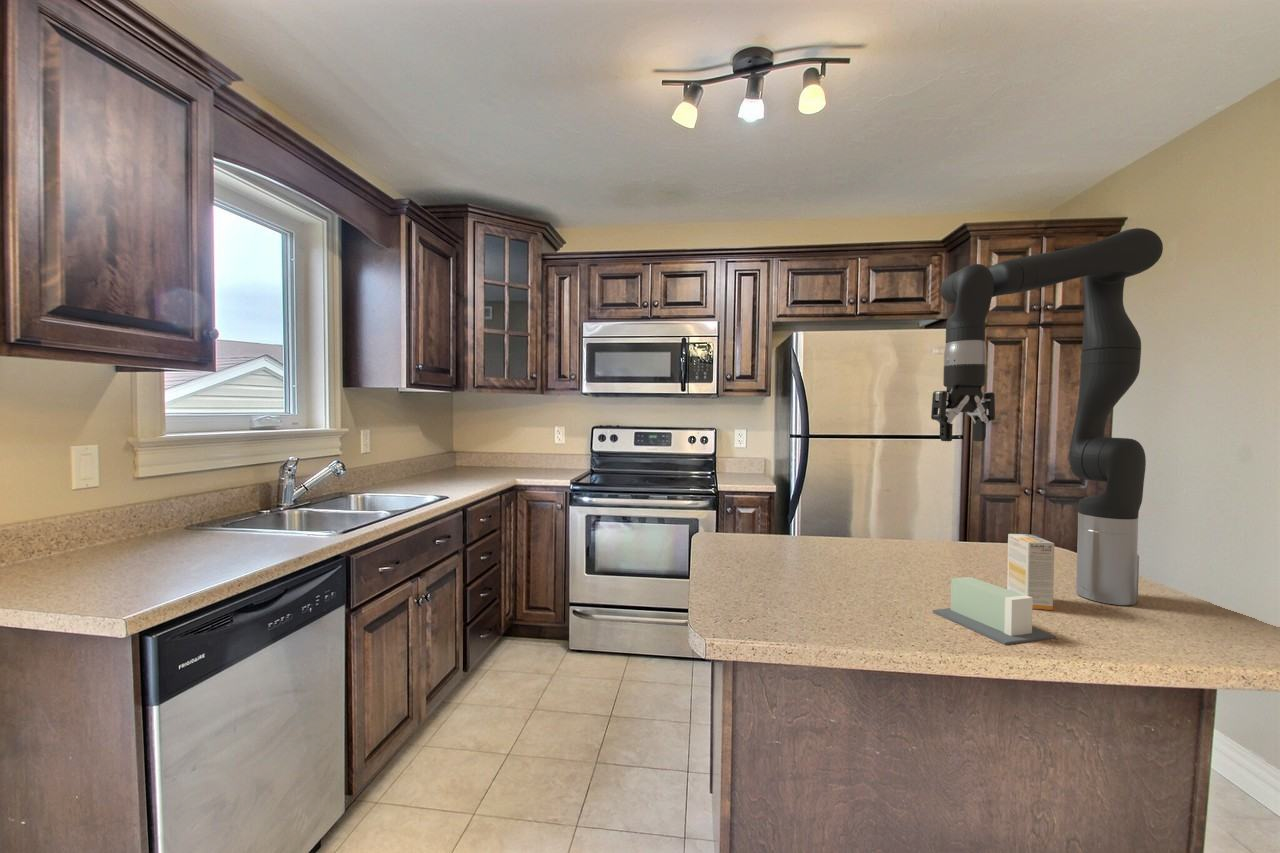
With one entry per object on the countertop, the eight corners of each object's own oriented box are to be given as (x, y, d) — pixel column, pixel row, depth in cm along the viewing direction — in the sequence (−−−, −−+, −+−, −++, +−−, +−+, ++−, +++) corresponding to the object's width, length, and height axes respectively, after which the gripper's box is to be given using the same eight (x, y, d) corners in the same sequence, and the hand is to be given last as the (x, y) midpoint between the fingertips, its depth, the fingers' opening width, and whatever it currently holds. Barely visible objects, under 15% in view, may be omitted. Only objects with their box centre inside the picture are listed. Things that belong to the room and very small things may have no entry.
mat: (978, 606, 101) (978, 604, 101) (1055, 637, 87) (1055, 635, 87) (932, 612, 98) (932, 610, 98) (1004, 644, 84) (1004, 642, 84)
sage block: (970, 576, 100) (1032, 597, 88) (969, 608, 100) (1031, 633, 88) (950, 578, 98) (1011, 599, 87) (950, 610, 98) (1011, 636, 87)
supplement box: (1054, 611, 100) (1056, 543, 99) (1026, 608, 101) (1028, 541, 100) (1031, 596, 108) (1033, 533, 107) (1005, 594, 109) (1007, 532, 108)
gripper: (952, 361, 103) (950, 442, 103) (1007, 363, 107) (1005, 442, 107) (922, 364, 110) (920, 440, 110) (975, 366, 114) (973, 440, 114)
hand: (962, 441), depth 109 cm, fingers open, 8 cm apart
